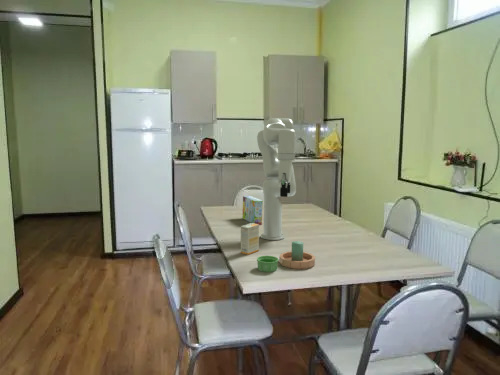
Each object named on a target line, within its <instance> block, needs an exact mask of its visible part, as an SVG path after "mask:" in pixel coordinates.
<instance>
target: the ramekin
mask: <svg viewBox="0 0 500 375" xmlns="http://www.w3.org/2000/svg"><path fill="white" fill-rule="evenodd" d="M256 261H257V262H256V263H257V269H258V271H260V272H264V273H273V272H276V271H277V270H278V267H279V266H278V265H279V264H278V263H279V258H278V257H276V256H273V255H261V256H258V257H257V258H256Z"/></svg>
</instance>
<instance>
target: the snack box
mask: <svg viewBox="0 0 500 375" xmlns="http://www.w3.org/2000/svg"><path fill="white" fill-rule="evenodd" d="M263 205H264V200H262V199H260V198H258V197H255V196H252V195H243V196H242V219H244V220H245V221H246V222H248V223H249V224H250V223H254V224H259V226H261V225H262V224H263V222H262V221H263Z"/></svg>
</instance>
